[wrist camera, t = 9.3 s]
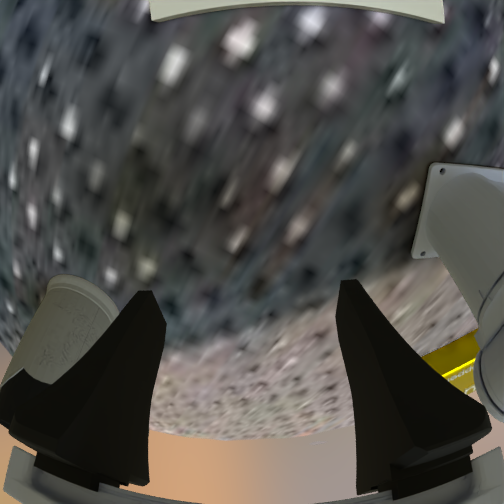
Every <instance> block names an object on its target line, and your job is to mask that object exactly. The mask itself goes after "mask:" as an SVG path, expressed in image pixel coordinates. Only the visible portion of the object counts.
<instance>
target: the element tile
mask: <svg viewBox="0 0 504 504" xmlns="http://www.w3.org/2000/svg"><path fill="white" fill-rule="evenodd" d="M477 330H478V328H477V329H476V330H474V331H472V332H470V333H469V334H467V335H465V336H463V337H461V338H459V339H457V340H455V341H454V342H452V343H450V344H448V345H446V346H444V347H442V348H440V349H438V350H436V351H433V352H431V353H429V354H427V355H425V356H423V357H421V358H422V359H423V360H424V361H425V362H427V363H428V364H429V365H430V366H431V367H432V368H433V369H434V370H435V371H437V372H438V373H439V374H440V375H441V376H443V377H444V378H445V379H446V380H447V381H449V382H450V383H451V384H452V385H454V386H455V387H456V388H458V389H459V390H460V391H462V392H463V393H465V394H466V395H468V394H470V393H471V392H473V391H475V390H476V388H475V384H474V377H473V366H474V361H475V358H476V356H477V353H478V352H479V350H480V348H479V346H478V343H477V341H476V339H475V337H474V335H475V334H476V332H477Z"/></svg>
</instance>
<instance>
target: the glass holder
mask: <svg viewBox="0 0 504 504" xmlns="http://www.w3.org/2000/svg"><path fill="white" fill-rule="evenodd" d="M119 314H120V313H119V310H118V308H117V306H116V305H115V303H114V302H113V301H112V299H111V298H110V297H109V296H108V295H107V294H106V293H105V292H104V291H102V290H101V289H100V288H98V287H97V286H96V285H94V284H92V283H91V282H89V281H87V280H85V279H83V278H80V277H77V276H74V275H69V274H61V275H56V276H54V277H53V278H52V279H50V281H49V283H48V285H47V293H46V296H45V297H44V299H43V301H42V303H41V304H40V306H39V308H38V309H37V311H36V313H35V315H34V317H33V318H32V320H31V322H30V324H29V326H28V328H27V330H26V331H25V333H24V335H23V337H22V339H21V341H20V343H19V345H18V347H17V349H16V351H15V353H14V356H13V358H12V360H11V362H10V364H9V367H8V369H7V371H6V373H5V375H4V378H3V380H2V383H1V385H0V424H1V425H3V426H4V427H6V428H7V429H10V425H11V422H12V419H13V416H14V413H15V410H16V408H17V407H18V406H20V405H22V404H23V403H25V402H27V401H28V400H30V399H31V398H33V397H35V396H36V395H38V394H39V393H40V392H42V391H43V390H45V389H46V388H47V387H49V386H50V385H51V384H53V383H54V382H55V381H56V380H57V379H59V378H60V377H61V376H62V375H63V374H64V373H66V372H67V371H68V370H69V369H70V368H71V367H72V366H73V365H74V364H75V363H77V362H78V361H79V360H80V359H81V358H82V357H83V356H84V354H85V353H86V352H87V351H88V350H89V349H90V348H91V347H92V346H93V345H94V343H95V342H96V341H97V340H98V339H99V338H100V337H101V335H102V334H103V333H104V332H105V331H106V330H107V328H108V327H109V326H110V325H111V323H112V322H113V321H114V320H115V319H116V317H117V316H118V315H119ZM148 436H149V433H148Z"/></svg>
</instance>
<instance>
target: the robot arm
mask: <svg viewBox="0 0 504 504" xmlns="http://www.w3.org/2000/svg"><path fill="white" fill-rule="evenodd" d="M442 168H443V170H442V172H440V170H441V169H442ZM421 252H422V253H421ZM411 255H412V257H413V258H414V259H420V258H431V257H440V259H441V260H442V262H443V263H444V265H445V267H446V268H447V270H448V271H449V273H450V275H451V276H452V278H453V280H454V281H455V283H456V285H457V286H458V288H459V290H460V292H461V293H462V295H463V297H464V299H465V300H466V302H467V304H468V306H469V308H470V309H471V311H472V313H473V315H474V317H475V319H476V321H477V323H478V325H479V328H478V330H477V332H476V334H475V335H474V337H475V339H476V341H477V343H478V346H479V348H480V350H479V352H478V353H477V356H476V358H475V361H474V366H473V377H474V384H475V388H476V391H477V394H478V396H479V398H480V401H481V402H482V404H483V405H482V404H481V403H479V402H477V401H476V400H474V399H473V398H471V397H469V396H468V395H466V394H465V393H463V392H462V391H460V390H459V389H458V388H456V387H455V386H454V385H452V384H451V383H450V382H449V381H447V380H446V379H445V378H444V377H443V376H441V375H440V374H439V373H438V372H437V371H435V370H434V369H433V368H432V367H431V366H430V365H429V364H428V363H427V362H425V361H424V360H423V359H422V358H421V357H420V356H419V355H418V354H417V353H416V352H415V351H414V350H413V349H412V348H411V347H410V345H409V344H408V343H407V342H406V341H405V340H404V339H403V338H402V337H401V335H400V334H399V333H398V332H397V331H396V330H395V328H394V327H393V326H392V325H391V324H390V322H389V321H388V320H387V319H386V317H385V316H384V315H383V314H382V312H381V311H380V310H379V308H378V307H377V306H376V304H375V303H374V302H373V300H372V299H371V298H370V296H369V295H368V294H367V292H366V291H365V289H364V288H363V287H362V285H361V284H360V282H359V281H358V280H357V279H354V280H341V284H340V290H339V297H338V303H337V310H336V316H335V317H336V325H337V332H338V339H339V343H340V347H341V351H342V356H343V360H344V364H345V368H346V372H347V376H348V380H349V384H350V389H351V394H352V400H353V410H354V420H355V434H356V456H357V457H356V458H357V471H356V472H357V474H356V477H357V478H356V489H357V495H361V494H366V493H371V492H376V491H378V493H376V494H371V495H367V496H362V497H357V498H351V499H345V500H339V501H332V502H325V503H317V504H504V460H503V456H502V451H501V448H500V447H497V448H495V449H494V450H491V451H489V452H487V453H486V454H483V455H481V456H479V457H477V458H475V459H473V460H470V454H472V453H473V449H472V444H474V443H475V442H477V441H478V440H480V439H481V438H483V437H484V436H486V435H487V434H488V433H489V432H491V430H492V427H491V423H490V419H489V415H488V413H487V411H488V412H489V413H490V414H491V415H492V416H493V417H494V418H495V419H497V420H499V421H500V422H503V423H504V169H499V168H491V167H483V166H473V165H462V164H450V163H436V162H435V163H432V164H431V165H430V167H429V171H428V177H427V182H426V188H425V193H424V198H423V203H422V208H421V213H420V217H419V222H418V226H417V230H416V234H415V238H414V242H413V246H412V250H411ZM166 325H167V323H166V321H165V319H164V317H163V315H162V313H161V310H160V308H159V306H158V304H157V301H156V299H155V297H154V295H153V292H152V290H151V291H138V292H137V293H136V294H135V295H134V296H133V297H132V299H131V300H130V301H129V302H128V304H127V305H126V306H125V307H124V309H123V310H122V311H121V312H120V314H119V315H118V316H117V317H116V319H115V320H114V321H113V322H112V323H111V325H110V326H109V327H108V328H107V330H106V331H105V332H104V333H103V334H102V335H101V337H100V338H99V339H98V340H97V341H96V342H95V343H94V345H93V346H92V347H91V348H90V349H89V350H88V351H87V352H86V353H85V354H84V356H83V357H82V358H81V359H80V360H79V361H78V362H77V363H75V364H74V365H73V366H72V367H71V368H70V369H69V370H68V371H67V372H66V373H64V374H63V375H62V376H61V377H60V378H59V379H57V380H56V381H55V382H54V383H53V384H51V385H50V386H49V387H47V388H46V389H45V390H43V391H42V392H40V393H39V394H38V395H36V396H35V397H33V398H31V399H30V400H28V401H27V402H25V403H23V404H22V405H20V406H18V407H17V408H16V410H15V413H14V416H13V419H12V422H11V425H10V429H9V434H10V435H11V436H12V437H14V438H15V439H17V440H18V441H20V442H22V443H23V444H25V445H26V446H28V447H30V448H32V449H33V450H35V451H37V455H36V456H34V455H32V454H30V453H28V452H26V451H24V450H22V449H20V448H18V447H16V446H14V447H13V449H12V453H11V457H10V461H9V465H8V469H7V473H6V478H5V483H4V488H3V490H4V492H6V493H7V494H9V495H10V496H12V497H13V498H15V499H16V500H18V501H19V502H21V503H22V504H200V503H192V502H184V501H177V500H171V499H165V498H160V497H155V496H150V495H145V494H140V493H136V492H132V491H128V490H124V489H120V488H119V487H120V485H124V486H128V485H129V483H131V484H134V485H139V486H145V485H147V484H148V483H149V482H150V480H149V466H148V433H149V417H150V407H151V399H152V394H153V389H154V385H155V381H156V377H157V373H158V369H159V365H160V360H161V356H162V352H163V348H164V342H165V334H166Z"/></svg>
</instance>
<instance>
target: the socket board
mask: <svg viewBox="0 0 504 504" xmlns="http://www.w3.org/2000/svg"><path fill="white" fill-rule="evenodd" d="M149 3H150V11H151V19H152V21H155V22H163V21H167V20H171V19H175V18H180V17H185V16H190V15H195V14H201V13H207V12H213V11H220V10H227V9H236V8H246V7H259V6H280V5H311V6H332V7H345V8H355V9H363V10H371V11H377V12H383V13H389V14H395V15H400V16H405V17H409V18H414V19H418V20H422V21H426V22H430V23H434V24H442V23H445V22H444V10H443V0H149Z"/></svg>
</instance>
